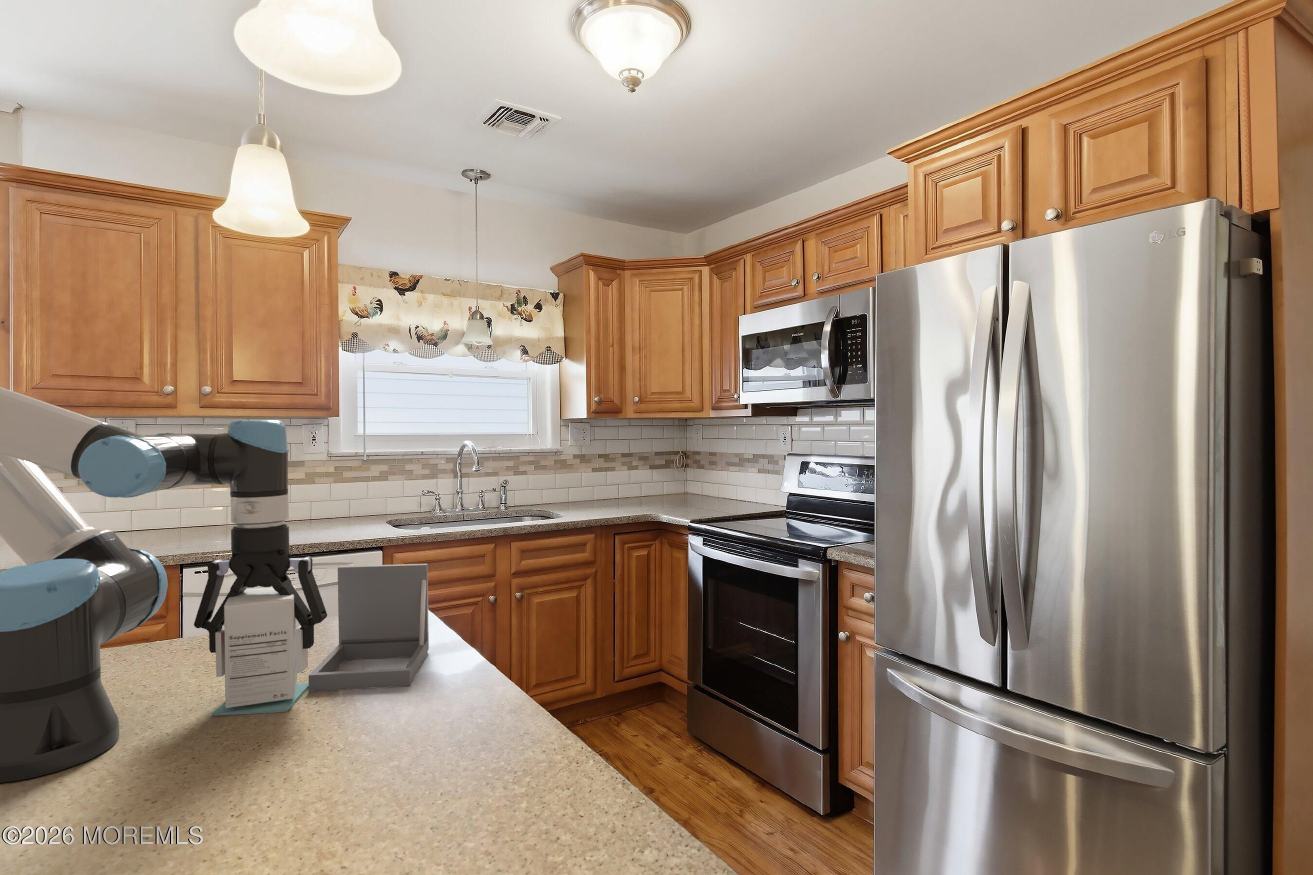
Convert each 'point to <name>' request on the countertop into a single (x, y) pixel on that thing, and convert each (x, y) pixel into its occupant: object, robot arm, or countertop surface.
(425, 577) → the case
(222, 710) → the mat
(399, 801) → the countertop surface
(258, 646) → the supplement box
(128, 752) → the countertop surface
